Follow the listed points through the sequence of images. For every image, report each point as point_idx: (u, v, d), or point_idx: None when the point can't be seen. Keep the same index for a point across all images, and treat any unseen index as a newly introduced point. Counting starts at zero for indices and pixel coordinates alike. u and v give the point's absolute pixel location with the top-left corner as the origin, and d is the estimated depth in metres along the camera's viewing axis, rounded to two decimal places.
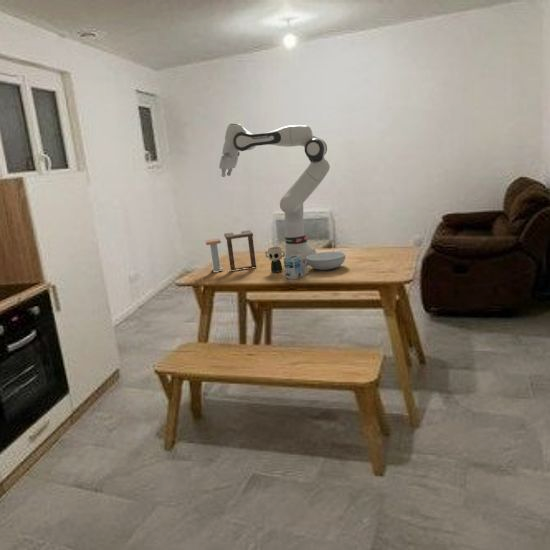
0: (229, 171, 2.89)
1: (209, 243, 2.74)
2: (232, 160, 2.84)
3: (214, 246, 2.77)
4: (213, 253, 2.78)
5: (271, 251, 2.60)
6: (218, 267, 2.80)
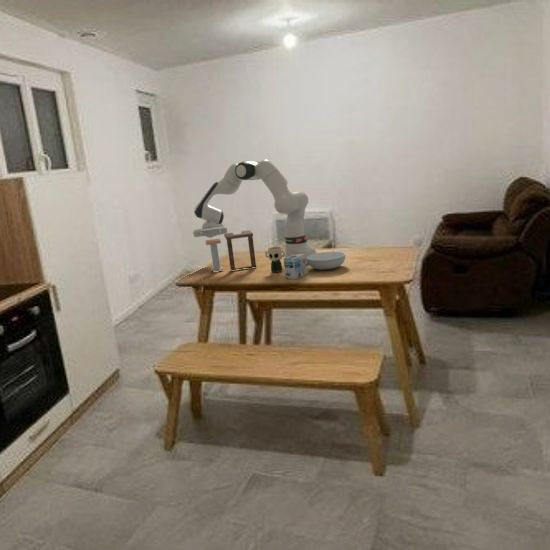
0: None
1: (209, 243, 2.74)
2: (213, 228, 2.99)
3: (214, 246, 2.77)
4: (213, 253, 2.78)
5: (271, 251, 2.60)
6: (218, 267, 2.80)
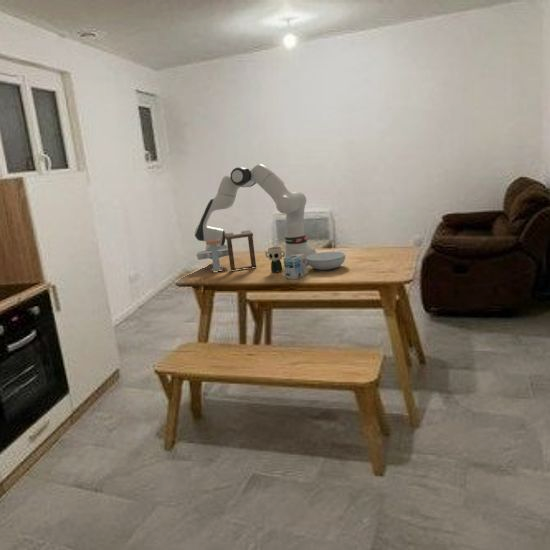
0: None
1: (209, 243, 2.74)
2: None
3: (214, 246, 2.77)
4: (213, 253, 2.78)
5: (271, 251, 2.60)
6: (218, 267, 2.80)
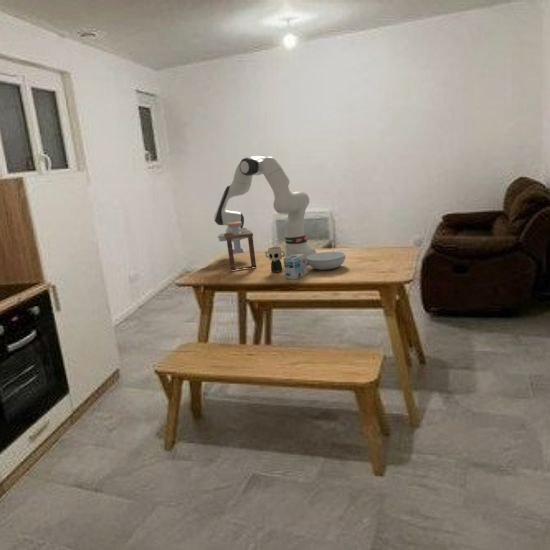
0: None
1: (231, 225, 2.88)
2: None
3: (235, 228, 2.91)
4: None
5: (271, 251, 2.60)
6: (239, 248, 2.94)
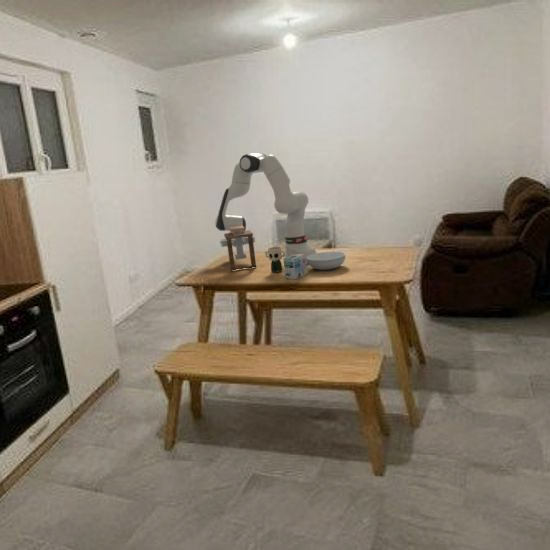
0: None
1: (233, 230, 2.79)
2: None
3: (238, 233, 2.82)
4: (237, 240, 2.83)
5: (271, 251, 2.60)
6: (242, 254, 2.85)
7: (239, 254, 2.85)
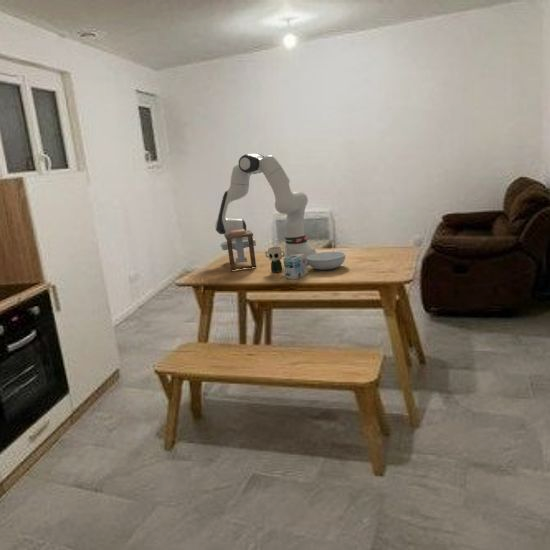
0: None
1: (234, 233, 2.75)
2: None
3: None
4: (238, 243, 2.79)
5: (271, 251, 2.60)
6: (242, 257, 2.81)
7: (240, 258, 2.81)
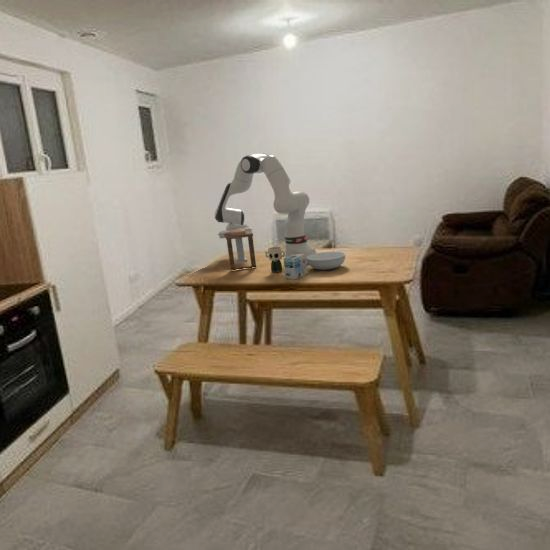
0: None
1: (234, 233, 2.75)
2: (237, 229, 3.01)
3: None
4: (238, 243, 2.79)
5: (271, 251, 2.60)
6: (242, 257, 2.81)
7: (240, 258, 2.81)
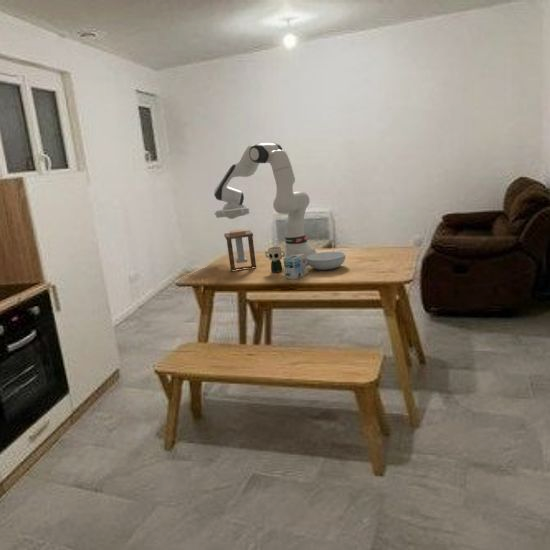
0: None
1: (234, 233, 2.75)
2: (235, 209, 2.99)
3: None
4: (238, 243, 2.79)
5: (271, 251, 2.60)
6: (242, 257, 2.81)
7: (240, 258, 2.81)
